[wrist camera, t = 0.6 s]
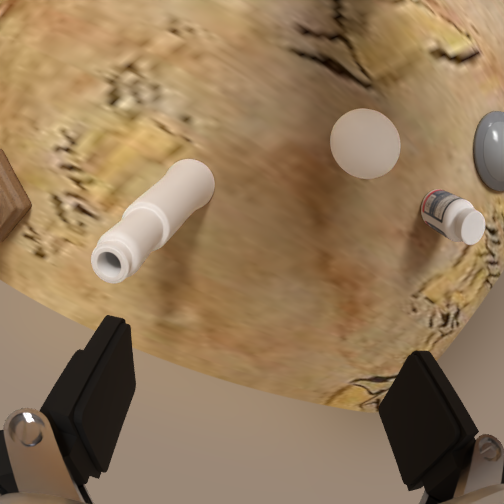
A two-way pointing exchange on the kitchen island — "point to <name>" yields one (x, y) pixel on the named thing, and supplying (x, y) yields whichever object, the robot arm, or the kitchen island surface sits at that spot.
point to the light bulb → (365, 143)
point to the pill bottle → (452, 217)
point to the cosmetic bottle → (152, 220)
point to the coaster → (490, 150)
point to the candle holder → (10, 198)
